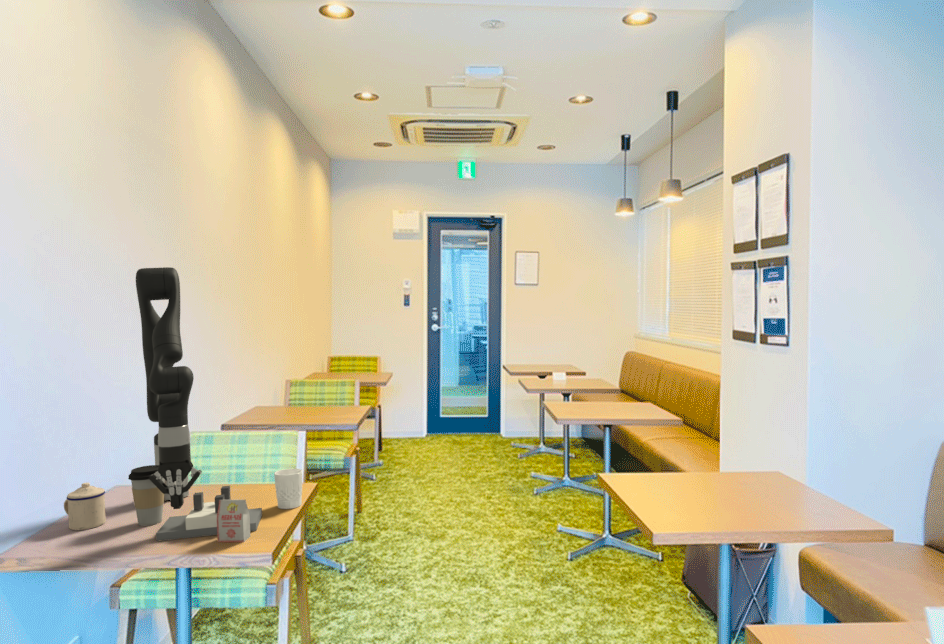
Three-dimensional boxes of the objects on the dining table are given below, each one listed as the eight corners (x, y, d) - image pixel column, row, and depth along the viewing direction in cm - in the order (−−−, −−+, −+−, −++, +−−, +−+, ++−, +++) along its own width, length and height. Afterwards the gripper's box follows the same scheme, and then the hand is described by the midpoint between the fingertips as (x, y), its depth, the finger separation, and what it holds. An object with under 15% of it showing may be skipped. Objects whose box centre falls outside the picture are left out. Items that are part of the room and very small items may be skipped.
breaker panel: (170, 524, 171) (168, 490, 171) (262, 514, 176) (260, 481, 176) (156, 541, 158) (154, 504, 158) (256, 530, 163) (254, 495, 163)
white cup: (270, 509, 181) (268, 474, 181) (286, 500, 189) (285, 467, 188) (293, 510, 179) (291, 475, 178) (308, 502, 186) (307, 469, 186)
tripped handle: (195, 507, 167) (195, 492, 167) (203, 507, 167) (203, 492, 167) (193, 510, 165) (193, 495, 165) (201, 509, 165) (201, 494, 165)
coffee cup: (176, 517, 176) (174, 464, 176) (150, 529, 167) (148, 473, 167) (148, 516, 179) (146, 463, 178) (122, 527, 170) (119, 472, 169)
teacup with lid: (114, 520, 176) (112, 479, 176) (87, 531, 167) (85, 488, 167) (79, 518, 179) (77, 478, 179) (51, 529, 170) (49, 486, 170)
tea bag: (224, 536, 159) (223, 497, 159) (250, 536, 159) (248, 497, 159) (217, 542, 156) (215, 502, 155) (243, 542, 155) (242, 501, 155)
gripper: (204, 438, 170) (207, 501, 170) (151, 441, 167) (154, 506, 167) (198, 443, 162) (201, 510, 163) (142, 447, 160) (145, 515, 160)
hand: (177, 508), depth 165 cm, fingers closed
